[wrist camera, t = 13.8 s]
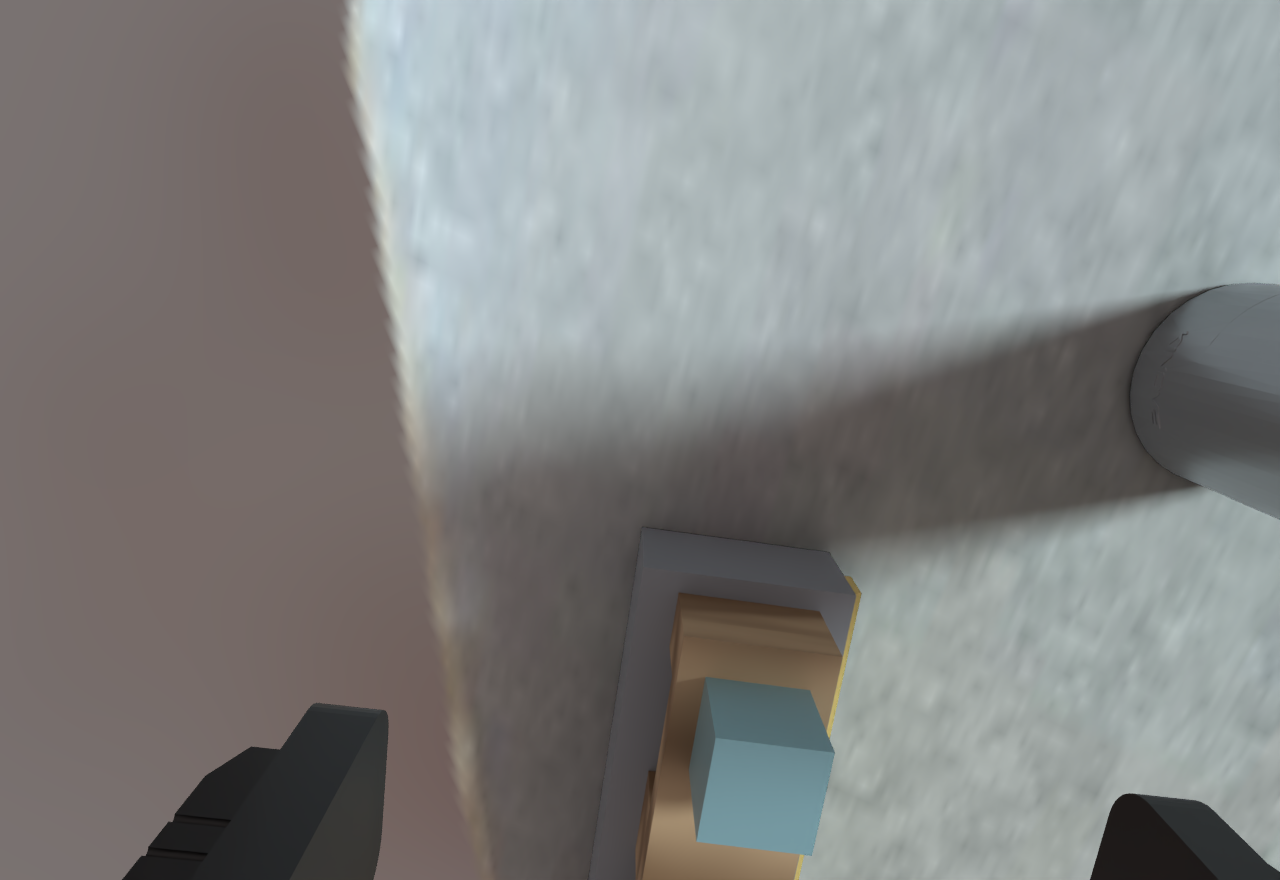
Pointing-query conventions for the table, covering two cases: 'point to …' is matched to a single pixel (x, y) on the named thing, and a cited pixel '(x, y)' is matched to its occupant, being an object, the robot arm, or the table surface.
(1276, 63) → the table surface
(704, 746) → the block
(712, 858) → the board
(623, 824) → the dock
